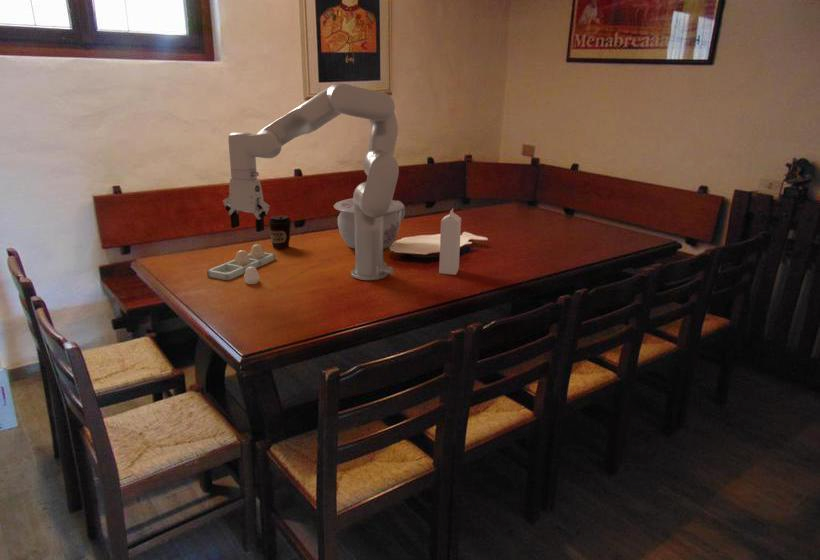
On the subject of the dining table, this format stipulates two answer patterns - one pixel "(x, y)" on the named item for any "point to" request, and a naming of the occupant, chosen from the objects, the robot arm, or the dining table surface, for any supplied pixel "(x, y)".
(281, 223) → the coffee cup
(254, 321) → the dining table surface
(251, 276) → the white egg shape
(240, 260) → the brown egg middle
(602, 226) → the dining table surface
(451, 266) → the milk
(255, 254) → the brown egg end
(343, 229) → the chamber pot
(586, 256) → the dining table surface
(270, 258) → the egg carton
